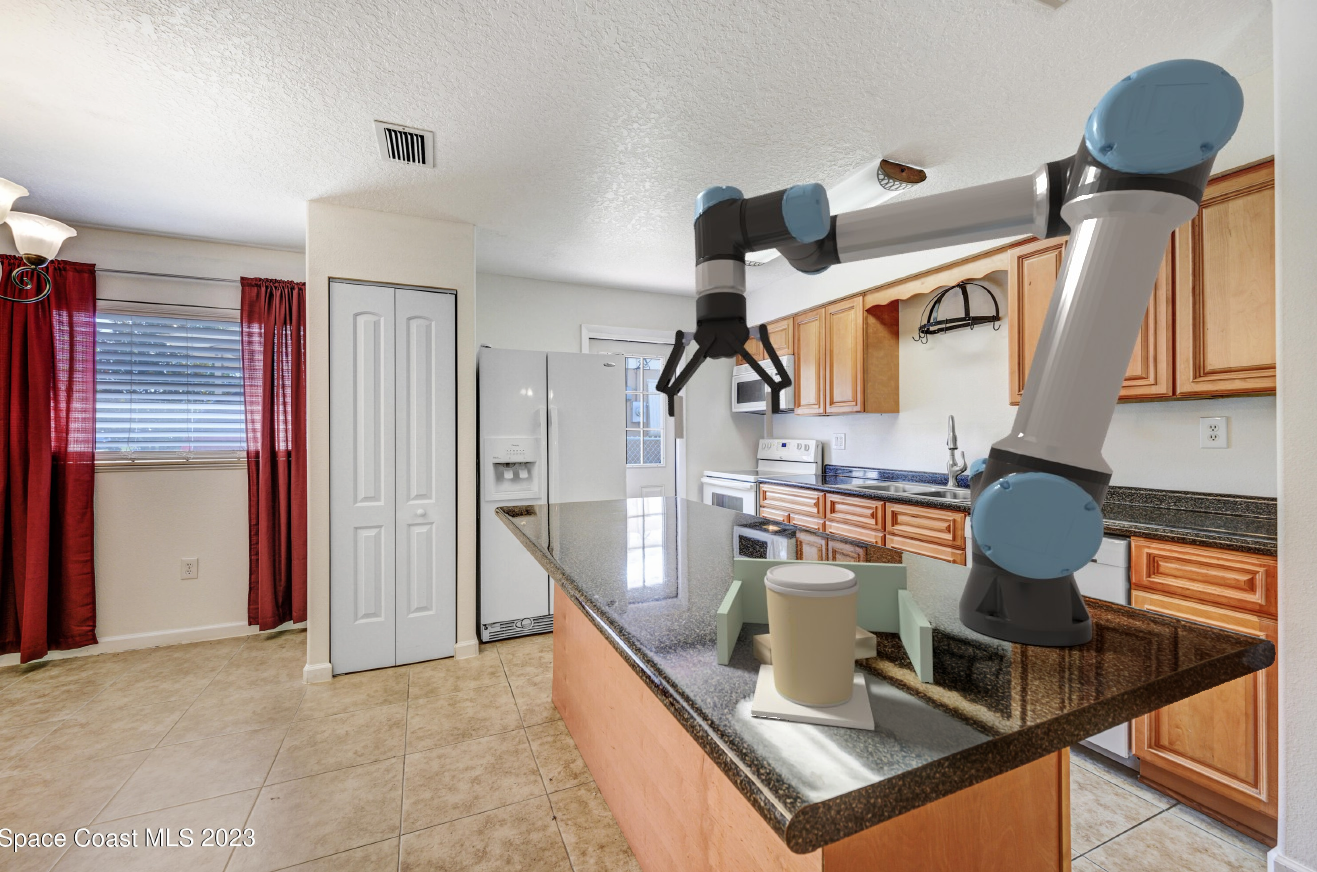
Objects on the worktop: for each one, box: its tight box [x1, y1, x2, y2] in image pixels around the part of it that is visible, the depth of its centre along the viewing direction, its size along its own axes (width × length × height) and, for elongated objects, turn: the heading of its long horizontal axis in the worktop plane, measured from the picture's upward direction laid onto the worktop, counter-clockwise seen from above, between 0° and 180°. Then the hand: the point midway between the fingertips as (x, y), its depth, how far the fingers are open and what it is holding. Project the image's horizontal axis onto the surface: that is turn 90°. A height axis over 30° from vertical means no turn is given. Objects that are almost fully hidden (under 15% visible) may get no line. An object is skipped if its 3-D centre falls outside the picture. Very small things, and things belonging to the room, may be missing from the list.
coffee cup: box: [764, 563, 859, 708], centre depth 57 cm, size 9×9×12 cm
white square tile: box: [750, 663, 875, 731], centre depth 56 cm, size 11×11×1 cm
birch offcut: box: [752, 626, 877, 665], centre depth 67 cm, size 14×4×3 cm, turn 104°
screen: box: [716, 557, 934, 684], centre depth 70 cm, size 23×17×9 cm
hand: (723, 438), depth 82 cm, fingers open, 13 cm apart
